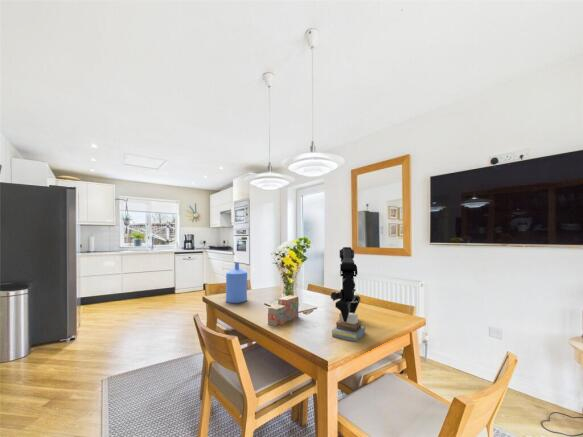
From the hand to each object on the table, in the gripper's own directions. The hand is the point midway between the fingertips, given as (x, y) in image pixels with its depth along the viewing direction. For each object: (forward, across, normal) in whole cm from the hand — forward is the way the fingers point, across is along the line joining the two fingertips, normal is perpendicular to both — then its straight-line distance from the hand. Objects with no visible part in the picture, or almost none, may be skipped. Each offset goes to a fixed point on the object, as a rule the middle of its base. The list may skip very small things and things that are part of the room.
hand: (348, 319), depth 131 cm
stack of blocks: (+8, -1, -39) cm, 40 cm away
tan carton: (+1, 0, -2) cm, 3 cm away
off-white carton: (+1, 0, +2) cm, 2 cm away
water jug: (+8, -19, -95) cm, 97 cm away
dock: (+7, 0, 0) cm, 7 cm away
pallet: (+4, 0, 0) cm, 4 cm away
